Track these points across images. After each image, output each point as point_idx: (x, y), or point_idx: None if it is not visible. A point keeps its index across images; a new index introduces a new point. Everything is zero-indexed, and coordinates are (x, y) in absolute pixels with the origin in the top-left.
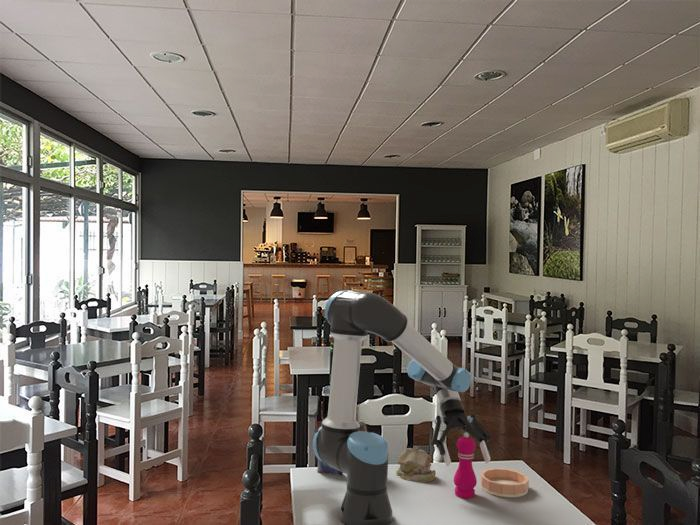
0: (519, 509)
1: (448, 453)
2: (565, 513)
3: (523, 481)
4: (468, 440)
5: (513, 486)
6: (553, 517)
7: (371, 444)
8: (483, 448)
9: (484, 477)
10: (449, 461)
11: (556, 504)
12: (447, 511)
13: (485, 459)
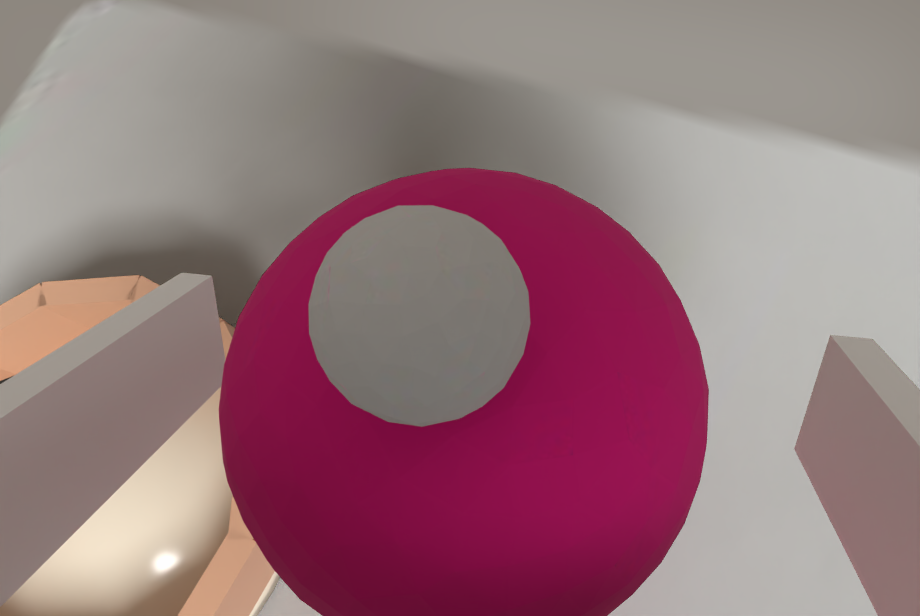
0: (299, 158)
1: (902, 421)
2: (105, 59)
3: (7, 324)
4: (477, 187)
5: (151, 282)
6: (204, 37)
7: None
8: (82, 418)
9: (239, 525)
10: (861, 342)
11: (42, 160)
12: (800, 253)
13: (200, 372)
